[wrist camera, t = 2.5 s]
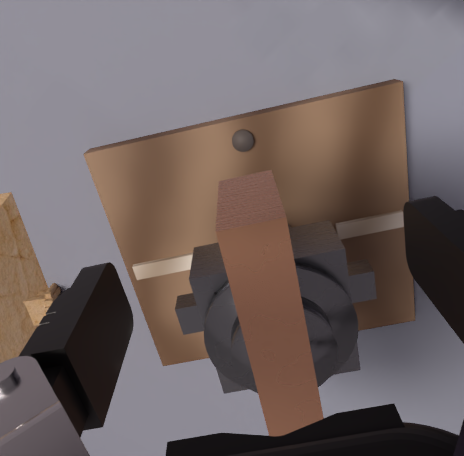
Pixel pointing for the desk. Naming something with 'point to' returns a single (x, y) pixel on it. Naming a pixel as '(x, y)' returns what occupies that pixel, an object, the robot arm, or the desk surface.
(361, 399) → the desk surface
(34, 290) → the model pyramid
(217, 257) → the lever handle
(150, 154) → the post base
